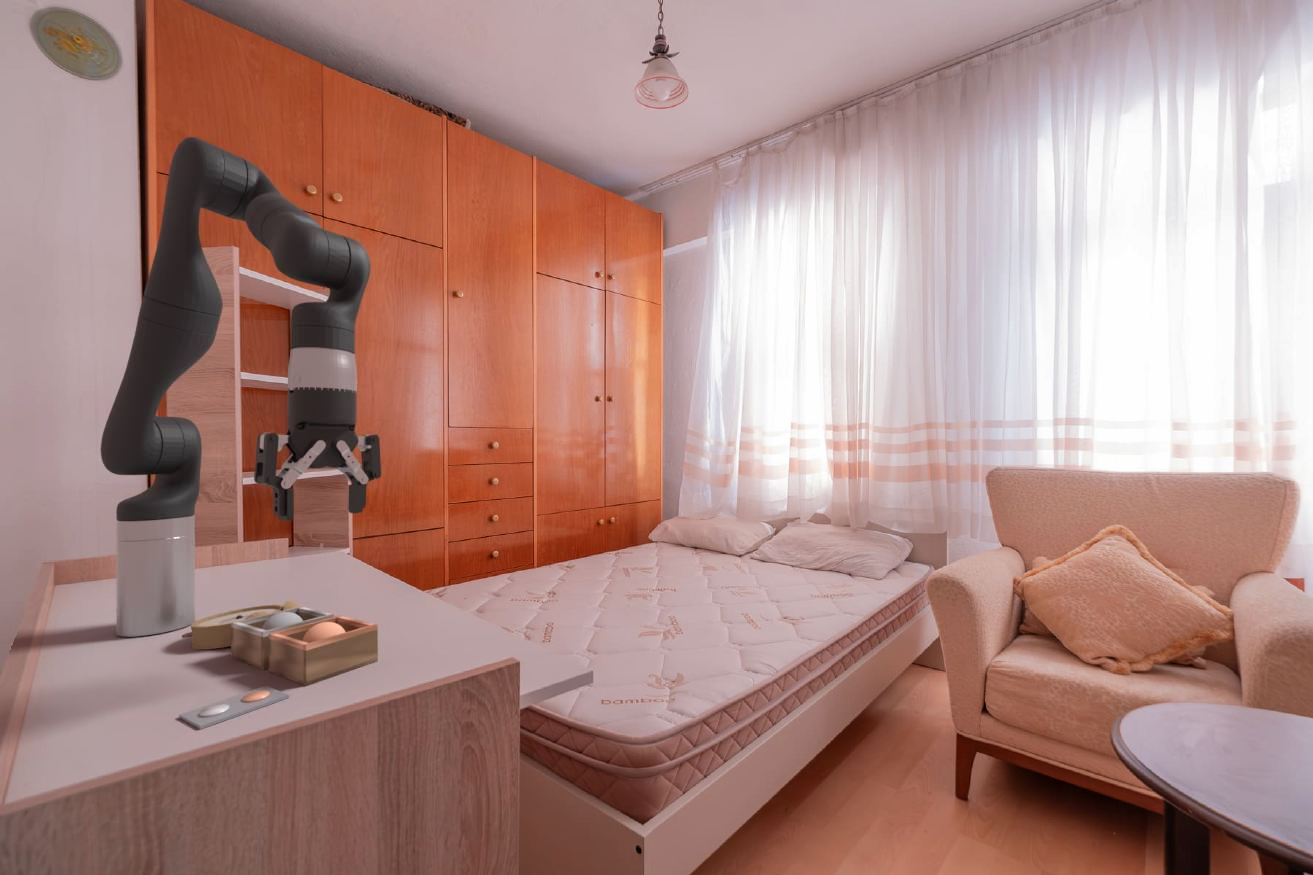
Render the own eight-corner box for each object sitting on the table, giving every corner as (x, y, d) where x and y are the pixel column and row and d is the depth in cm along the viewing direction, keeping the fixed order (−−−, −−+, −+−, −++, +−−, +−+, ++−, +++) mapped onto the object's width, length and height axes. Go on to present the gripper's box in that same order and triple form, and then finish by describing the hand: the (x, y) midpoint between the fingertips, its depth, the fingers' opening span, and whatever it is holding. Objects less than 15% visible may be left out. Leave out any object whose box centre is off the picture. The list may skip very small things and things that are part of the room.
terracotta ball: (292, 665, 70) (292, 625, 70) (333, 653, 74) (333, 614, 74) (314, 673, 67) (314, 631, 67) (355, 659, 72) (355, 620, 72)
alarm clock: (233, 607, 89) (321, 590, 88) (238, 638, 89) (327, 622, 88) (166, 630, 78) (266, 611, 77) (172, 665, 78) (272, 647, 77)
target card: (179, 717, 57) (179, 712, 57) (266, 688, 64) (266, 683, 64) (200, 729, 55) (200, 723, 55) (289, 697, 62) (288, 692, 62)
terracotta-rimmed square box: (268, 671, 69) (268, 633, 69) (339, 649, 77) (339, 615, 77) (306, 685, 65) (306, 645, 65) (377, 660, 72) (377, 624, 72)
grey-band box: (231, 657, 74) (231, 622, 75) (301, 638, 82) (300, 606, 82) (263, 669, 70) (263, 632, 70) (334, 647, 77) (334, 614, 78)
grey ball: (254, 653, 75) (251, 615, 75) (294, 640, 79) (292, 605, 79) (272, 659, 73) (270, 621, 72) (313, 646, 77) (311, 609, 77)
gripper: (360, 394, 79) (359, 509, 79) (244, 384, 67) (243, 520, 67) (393, 391, 75) (392, 512, 75) (276, 380, 63) (274, 525, 63)
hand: (322, 516), depth 71 cm, fingers open, 8 cm apart
